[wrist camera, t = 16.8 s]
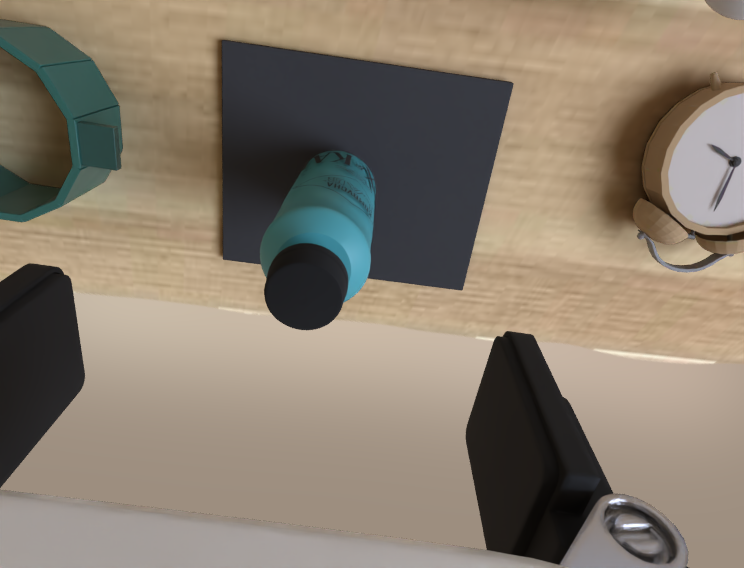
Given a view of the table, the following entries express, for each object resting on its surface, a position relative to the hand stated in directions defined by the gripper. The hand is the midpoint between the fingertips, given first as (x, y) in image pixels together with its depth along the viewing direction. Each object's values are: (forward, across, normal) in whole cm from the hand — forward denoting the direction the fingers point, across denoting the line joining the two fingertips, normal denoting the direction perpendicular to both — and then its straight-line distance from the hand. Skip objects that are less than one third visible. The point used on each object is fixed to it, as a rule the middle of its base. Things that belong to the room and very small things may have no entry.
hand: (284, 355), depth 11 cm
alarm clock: (+32, -29, 0) cm, 43 cm away
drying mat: (+32, -1, +5) cm, 33 cm away
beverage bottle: (+32, +1, +5) cm, 32 cm away
